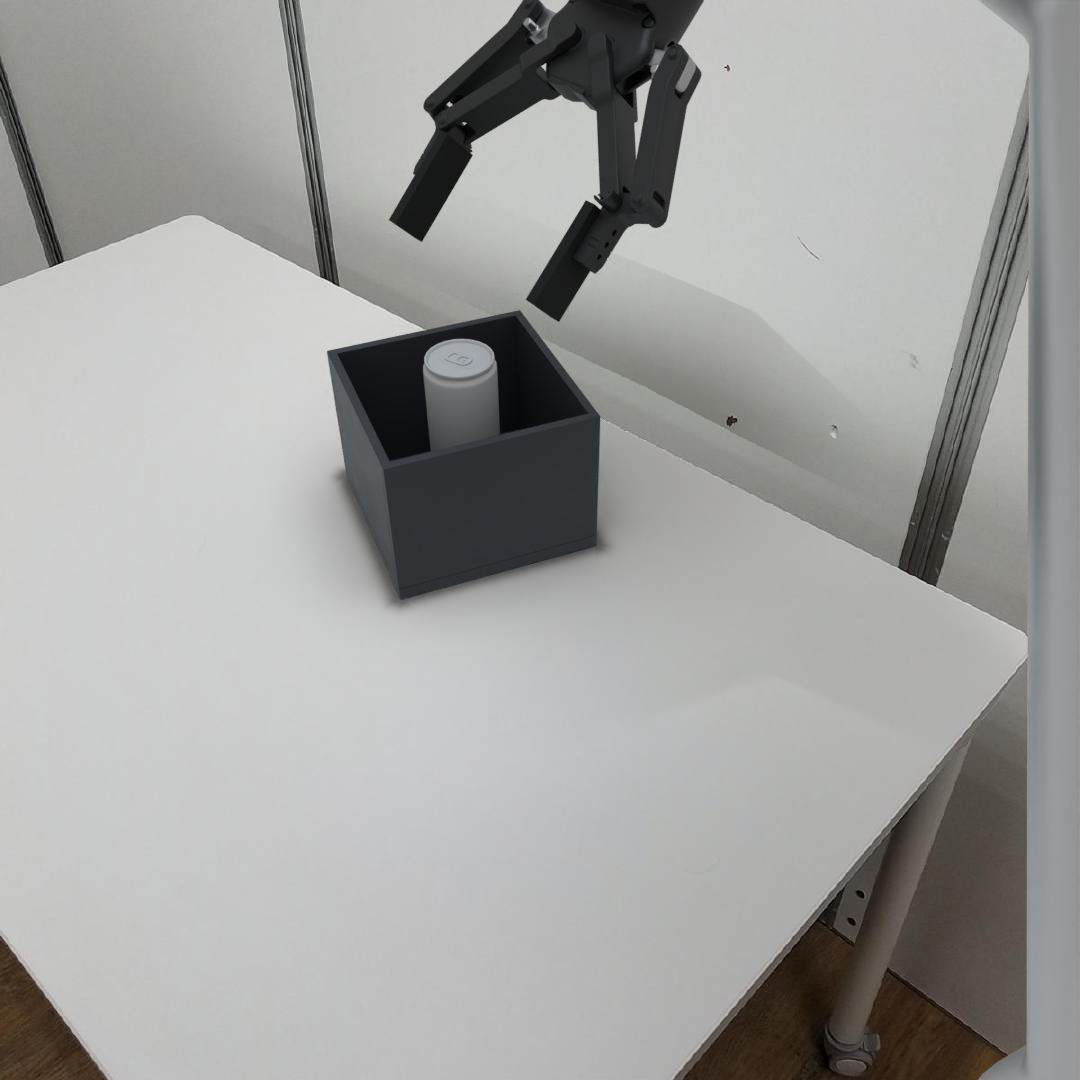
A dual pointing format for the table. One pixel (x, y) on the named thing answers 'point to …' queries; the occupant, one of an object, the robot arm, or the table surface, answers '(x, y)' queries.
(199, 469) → the table surface
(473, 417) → the beverage can
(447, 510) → the trash bin
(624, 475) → the table surface
